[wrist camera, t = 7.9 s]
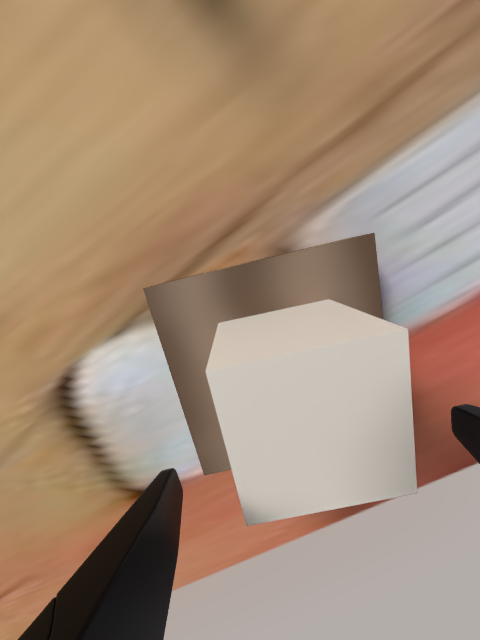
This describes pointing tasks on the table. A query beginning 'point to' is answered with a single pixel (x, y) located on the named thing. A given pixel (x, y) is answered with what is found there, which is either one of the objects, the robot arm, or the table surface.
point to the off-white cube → (314, 409)
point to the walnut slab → (247, 300)
